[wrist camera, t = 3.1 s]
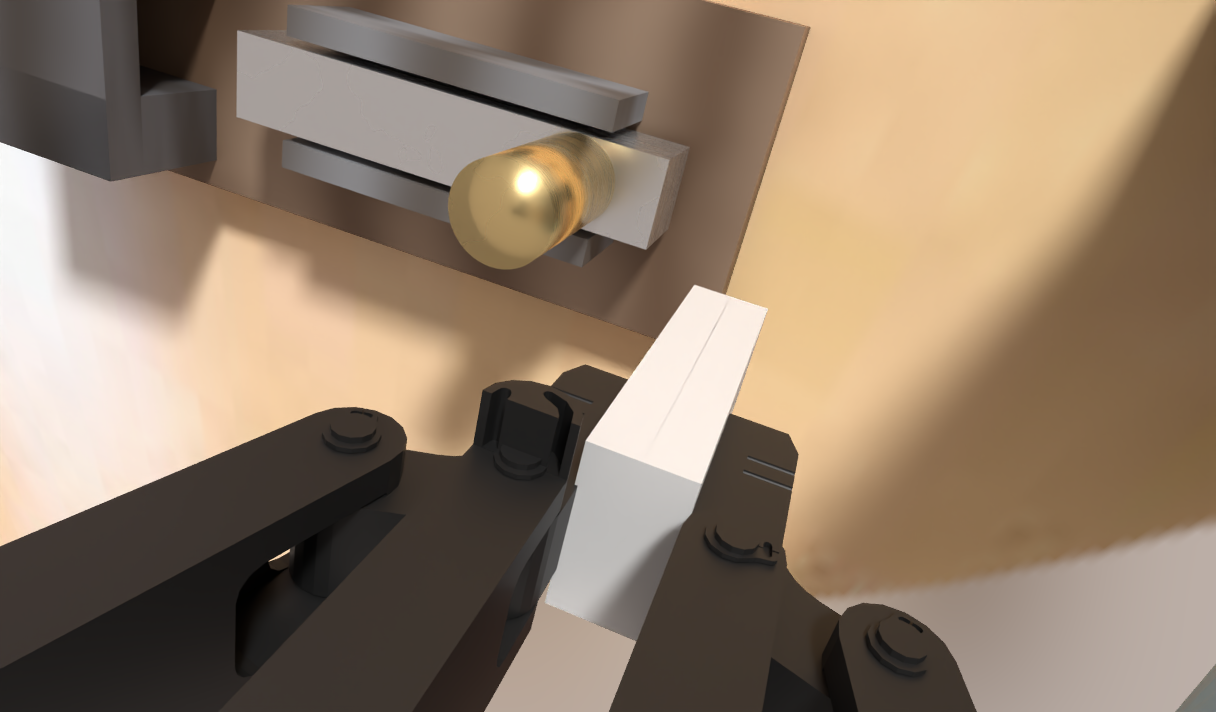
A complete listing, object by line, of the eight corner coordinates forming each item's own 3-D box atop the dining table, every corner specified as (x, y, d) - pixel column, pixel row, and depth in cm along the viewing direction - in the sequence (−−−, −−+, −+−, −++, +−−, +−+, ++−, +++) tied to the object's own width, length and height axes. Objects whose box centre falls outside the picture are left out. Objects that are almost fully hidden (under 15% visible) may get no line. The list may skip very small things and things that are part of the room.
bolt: (689, 147, 27) (617, 193, 19) (668, 228, 28) (591, 301, 21) (294, 30, 30) (98, 31, 22) (290, 109, 31) (105, 134, 24)
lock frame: (810, 27, 27) (788, 27, 20) (712, 336, 32) (670, 414, 26) (100, -156, 32) (-94, -202, 26) (117, 134, 37) (-40, 156, 31)
